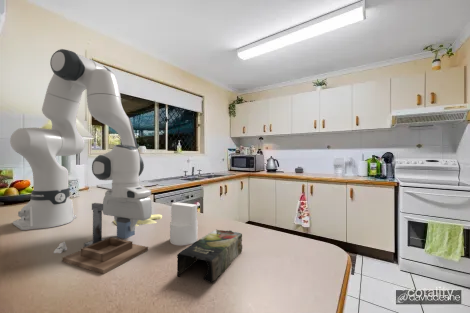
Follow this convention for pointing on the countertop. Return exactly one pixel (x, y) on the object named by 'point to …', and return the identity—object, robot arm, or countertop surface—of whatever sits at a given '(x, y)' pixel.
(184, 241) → the cylinder with rectangular tab
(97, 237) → the post
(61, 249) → the white irregular angular piece
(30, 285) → the countertop surface
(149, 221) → the cloth
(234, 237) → the juice carton
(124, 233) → the grey banded block
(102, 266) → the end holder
